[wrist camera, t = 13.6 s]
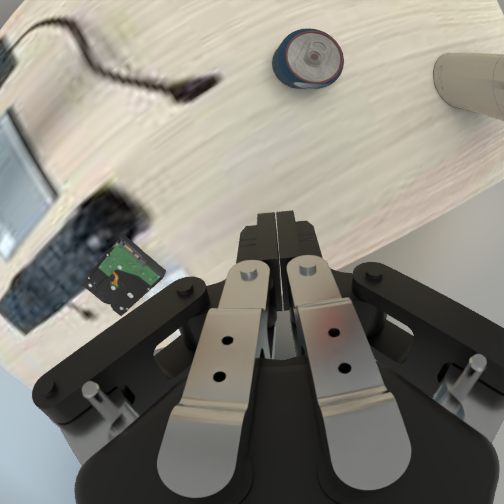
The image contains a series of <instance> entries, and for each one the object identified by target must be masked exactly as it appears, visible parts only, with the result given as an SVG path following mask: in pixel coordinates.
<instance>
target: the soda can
mask: <svg viewBox="0 0 504 504" xmlns="http://www.w3.org/2000/svg"><path fill="white" fill-rule="evenodd" d="M272 65H273V70H274V72H275V74H276V76H277V77H278V79H279V80H280V81H281V82H283V83H284V84H286V85H288V86H290V87H293V88H301V89H320V88H324V87H326V86H329V85H330V84H332V83H333V82H335V81H336V80H337V79H338V77H339V76H340V74H341V72H342V69H343V65H344V58H343V53H342V50H341V48H340V46H339V45H338V43H337V42H336V41H335V40H334V39H333V38H332V37H331V36H330V35H328V34H326V33H325V32H322V31H320V30H316V29H300V30H297V31H295V32H293V33H291V34H289V35H288V36H287V37H286V38H285V39H284V40H283V42H282V43H281V44H280V46H279V47H278V49H277V50H276V52H275V54H274V56H273V61H272Z"/></svg>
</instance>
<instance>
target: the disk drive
mask: <svg viewBox="0 0 504 504" xmlns="http://www.w3.org/2000/svg"><path fill="white" fill-rule="evenodd" d="M165 272H166V270H165V269H163V268H162V267H161V266H160V265H159V264H157V263H156V262H155V261H154V260H153V259H152V258H151V257H149V256H148V255H147V254H146V253H145V252H143V251H142V250H141V249H140V248H139V247H138V246H137V245H136V244H134V243H133V242H132V241H131V240H130V239H129V238H128V237H126V236H125V235H124V234H122V235H121V237H120V238H119V239H118V240H117V241H116V242H115V243H114V244H113V246H112V247H111V248H110V250H109V251H108V252H107V253H106V254H105V256H104V257H103V258H102V259H101V260H100V262H99V263H98V264H97V265H96V267H95V268H94V269H93V270H92V271H91V272H90V274H89V275H88V277H87V278H86V279H85V281H84V282H83V284H82V285H83V286H84V287H85V288H86V289H88V290H89V291H90V292H91V293H93V294H94V295H95V296H96V297H97V298H99V299H100V300H101V301H102V302H103V303H107V304H111V307H112V308H113V310H114V311H115V312H116V313H118V314H119V315H120V316H122V315H123V314H124V313H125V312H127V310H128V309H129V308H131V307H132V306H133V305H134V304H135V303H136V302H137V301H138V300H139V299H140V298H142V296H144V295H145V294H146V293H147V292H148V291H149V290H150V289H151V288H153V287H154V286H155V285H156V284H157V283H158V282H159V281H160V280H161V279H163V277H164V274H165Z"/></svg>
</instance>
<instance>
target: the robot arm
mask: <svg viewBox="0 0 504 504" xmlns="http://www.w3.org/2000/svg"><path fill="white" fill-rule="evenodd" d="M434 82H435V86H436V89H437V91H438V93H439V94H440V96H441V97H442V99H443V100H444V101H445V102H446V103H448V104H449V105H451V106H454V107H458V108H462V109H466V110H469V111H473V112H476V113H480V114H483V115H487V116H490V117H493V118H496V119H500V120H503V121H504V55H502V54H482V53H447V54H444V55H442V56H441V57H440V58H439V59H438V60H437V62H436V64H435V67H434ZM276 216H277V229H278V239H277V229H276V219H275V212H272V213H261V214H258V217H257V225H254V226H246V227H245V228H244V229H243V231H242V232H241V233H240V241H239V247H238V254H237V261H236V264H235V265H234V266H233V267H231V269H230V270H229V272H228V275H227V279H225V280H224V281H221V282H219V283H216V284H212V285H209V286H206V284H205V282H204V281H203V280H202V279H200V278H197V277H185V278H181V279H178V280H176V281H174V282H173V283H171V284H170V285H168V286H167V287H166V288H164V289H163V290H161V291H160V292H158V293H157V294H156V295H154V296H153V297H151V298H150V299H148V300H147V301H146V302H144V303H143V304H141V305H140V306H138V307H137V308H136V309H134V310H133V311H131V312H130V313H128V314H127V315H126V316H124V317H123V318H121V319H120V320H119V321H117V322H116V323H114V324H113V325H112V326H110V327H109V328H107V329H106V330H105V331H103V332H102V333H100V334H99V335H98V336H96V337H95V338H93V339H92V340H91V341H89V342H88V343H86V344H85V345H84V346H82V347H81V348H80V349H78V350H77V351H75V352H74V353H73V354H71V355H70V356H69V357H67V358H66V359H64V360H63V361H62V362H60V363H59V364H58V365H56V366H55V367H54V368H52V369H51V370H49V371H48V372H47V373H45V374H44V375H43V376H41V377H40V378H39V379H38V381H37V382H36V384H35V385H34V388H33V391H32V398H33V401H34V403H35V405H36V406H37V407H39V409H41V410H42V411H43V412H44V413H45V414H46V415H47V416H48V417H49V418H50V419H51V421H52V422H53V423H55V424H56V425H57V426H58V427H59V428H60V429H61V431H62V433H63V435H64V437H65V439H66V440H67V442H68V444H69V446H70V447H71V449H72V451H73V452H74V454H75V456H76V457H77V459H78V460H79V462H80V464H81V465H82V467H81V469H80V471H79V473H78V475H77V478H76V482H75V499H76V504H493V501H494V496H495V491H496V487H497V483H498V479H499V460H498V456H497V453H496V451H495V448H494V447H493V445H492V442H493V440H494V438H495V436H496V434H497V432H498V430H499V428H500V426H501V424H502V422H503V420H504V328H502V327H501V326H499V325H497V324H495V323H494V322H492V321H490V320H488V319H487V318H485V317H483V316H481V315H479V314H478V313H476V312H474V311H472V310H470V309H469V308H467V307H465V306H463V305H461V304H460V303H458V302H456V301H454V300H452V299H450V298H448V297H447V296H445V295H443V294H441V293H439V292H437V291H435V290H433V289H431V288H429V287H428V286H426V285H423V284H422V283H420V282H418V281H416V280H414V279H412V278H410V277H408V276H406V275H404V274H402V273H400V272H398V271H396V270H394V269H392V268H390V267H388V266H386V265H384V264H381V263H377V262H367V263H362V264H360V265H358V266H357V267H356V268H355V269H354V271H353V274H352V273H344V272H339V271H335V270H333V269H331V268H330V267H329V265H328V263H327V262H326V261H325V260H324V259H323V258H322V255H321V251H320V247H319V244H318V240H317V237H316V234H315V230H314V227H313V225H311V224H310V223H309V222H308V221H298V222H295V217H294V212H293V211H282V212H276ZM278 242H279V250H278ZM279 256H280V263H279ZM280 268H281V279H282V290H283V302H284V311H285V310H290V324H291V332H292V337H293V343H294V349H295V354H296V357H294V358H291V359H287V360H274V349H275V336H276V320H277V311H282V296H281V279H280ZM387 314H388V315H390V316H391V317H393V318H395V319H396V320H398V321H400V322H401V323H403V324H405V325H407V326H408V327H409V328H410V329H411V330H412V332H413V334H414V336H412V335H411V334H409V333H408V332H406V331H404V330H403V329H401V328H399V327H398V326H396V325H394V324H393V323H391V322H389V321H388V320H386V317H387ZM177 329H179V331H180V333H181V335H180V336H179V337H178V338H176V339H175V340H174V341H173V342H171V343H170V344H169V345H168V346H166V347H165V348H164V349H163V350H161V351H160V352H159V353H157V354H156V355H155V356H153V353H154V350H155V348H156V346H157V345H158V344H160V343H161V342H162V341H163V340H165V339H166V338H167V337H168V336H170V335H171V334H172V333H174V332H175V331H176V330H177ZM376 360H377V361H376ZM425 393H426V394H425ZM432 398H433V399H432Z"/></svg>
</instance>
